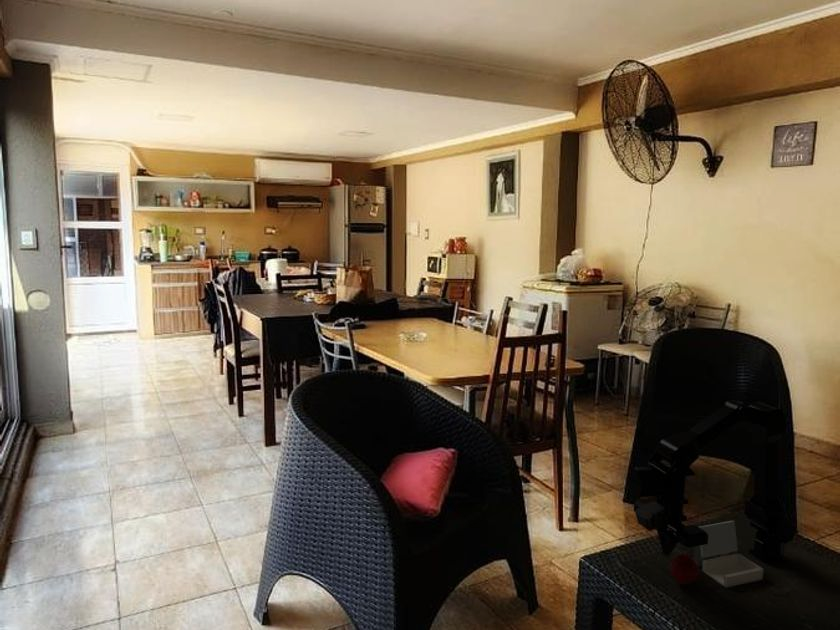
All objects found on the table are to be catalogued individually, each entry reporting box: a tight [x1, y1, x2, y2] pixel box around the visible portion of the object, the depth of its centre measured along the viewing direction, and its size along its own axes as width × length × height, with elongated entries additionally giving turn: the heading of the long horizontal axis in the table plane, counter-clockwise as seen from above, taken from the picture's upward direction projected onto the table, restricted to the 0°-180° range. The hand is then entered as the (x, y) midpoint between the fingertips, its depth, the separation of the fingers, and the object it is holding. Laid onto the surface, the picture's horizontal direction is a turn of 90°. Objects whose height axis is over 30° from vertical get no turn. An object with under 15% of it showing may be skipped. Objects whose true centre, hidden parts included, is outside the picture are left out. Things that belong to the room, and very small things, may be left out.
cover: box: [698, 520, 739, 559], centre depth 147 cm, size 11×7×1 cm
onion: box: [669, 550, 699, 585], centre depth 139 cm, size 6×6×8 cm
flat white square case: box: [693, 546, 765, 588], centre depth 144 cm, size 11×10×6 cm
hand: (666, 554), depth 144 cm, fingers closed
